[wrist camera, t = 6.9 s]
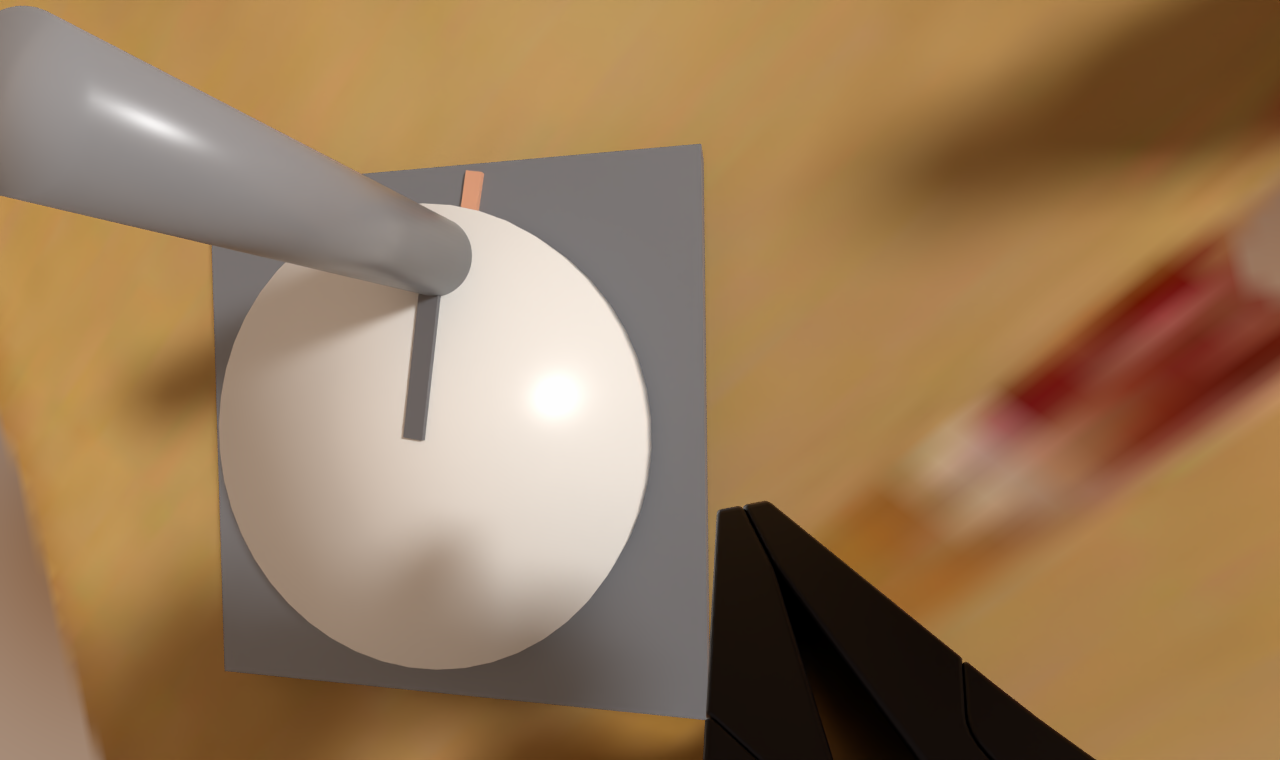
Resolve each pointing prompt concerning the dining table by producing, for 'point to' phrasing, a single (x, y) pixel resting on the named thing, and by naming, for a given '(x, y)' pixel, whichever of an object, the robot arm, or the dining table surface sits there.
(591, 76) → the dining table surface
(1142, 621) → the dining table surface
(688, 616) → the dial board
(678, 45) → the dining table surface
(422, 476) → the dial
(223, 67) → the dining table surface
